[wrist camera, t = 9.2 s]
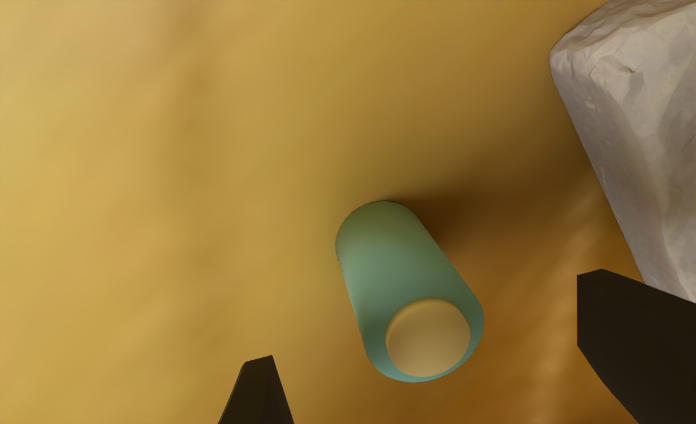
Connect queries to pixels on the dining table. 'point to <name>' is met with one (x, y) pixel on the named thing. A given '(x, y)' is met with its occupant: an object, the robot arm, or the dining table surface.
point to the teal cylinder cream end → (406, 294)
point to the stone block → (639, 126)
